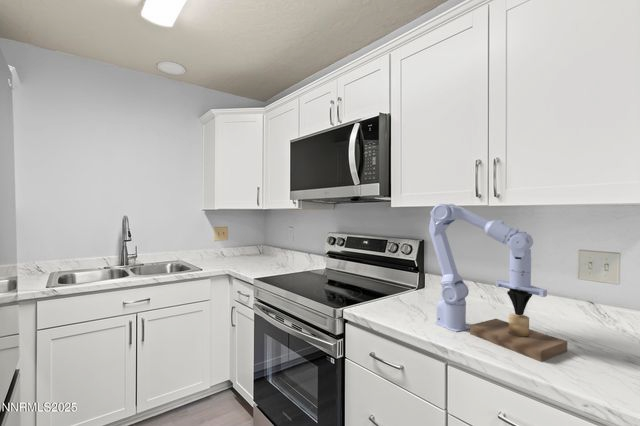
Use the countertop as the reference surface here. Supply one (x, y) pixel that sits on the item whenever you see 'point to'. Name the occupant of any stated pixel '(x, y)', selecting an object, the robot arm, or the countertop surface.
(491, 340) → the walnut board
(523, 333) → the oak peg
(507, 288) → the robot arm
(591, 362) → the countertop surface
